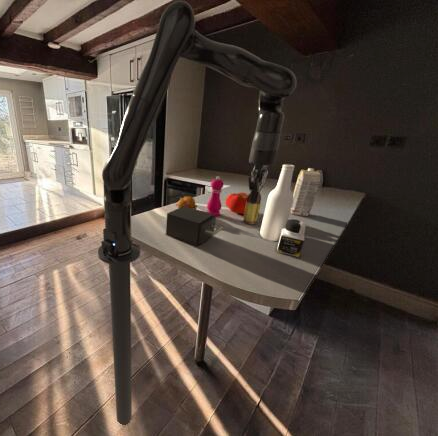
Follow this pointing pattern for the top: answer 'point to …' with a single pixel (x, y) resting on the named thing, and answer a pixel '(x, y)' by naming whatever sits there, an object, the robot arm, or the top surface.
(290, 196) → the alcohol
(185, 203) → the orange rounded lump
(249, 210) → the sauce bottle
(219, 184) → the pepper mill
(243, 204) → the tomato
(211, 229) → the drawer
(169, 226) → the cabinet
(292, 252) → the medicine bottle
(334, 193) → the top surface
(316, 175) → the juice carton
